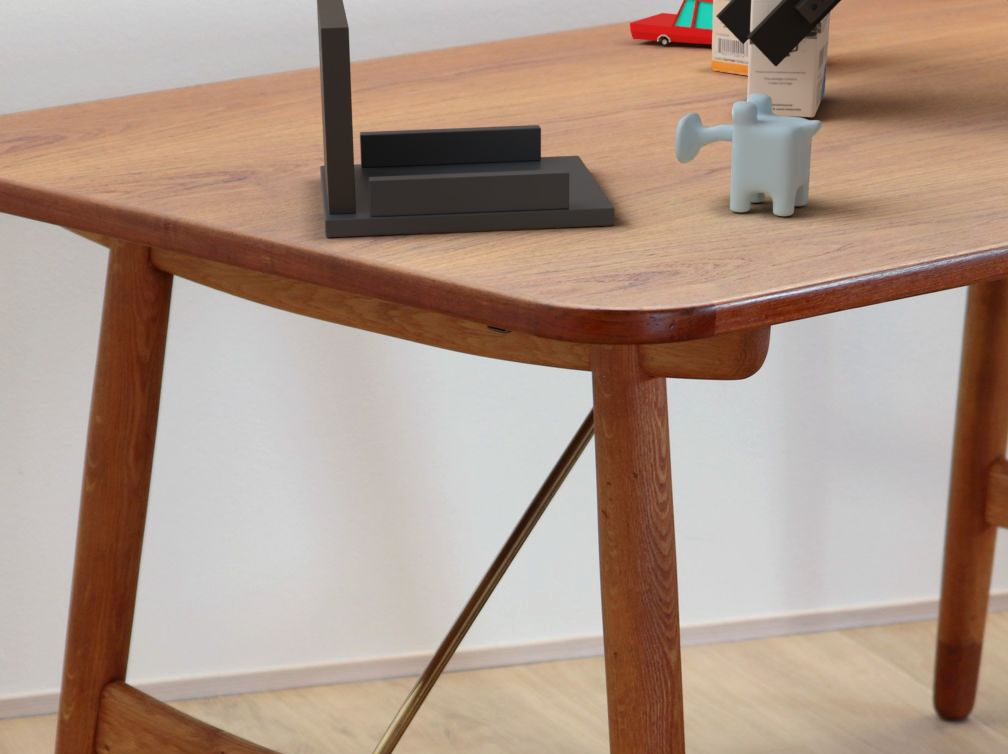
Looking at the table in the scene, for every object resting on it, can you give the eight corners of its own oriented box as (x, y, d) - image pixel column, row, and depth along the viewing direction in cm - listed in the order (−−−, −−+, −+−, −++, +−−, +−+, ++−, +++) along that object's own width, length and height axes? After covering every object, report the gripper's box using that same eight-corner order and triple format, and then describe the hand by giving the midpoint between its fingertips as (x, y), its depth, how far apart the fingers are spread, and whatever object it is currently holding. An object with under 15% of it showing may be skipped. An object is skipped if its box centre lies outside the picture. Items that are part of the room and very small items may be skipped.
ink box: (758, 95, 140) (765, -76, 135) (828, 96, 139) (837, -76, 134) (743, 117, 133) (749, -63, 128) (816, 118, 131) (826, -64, 126)
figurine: (693, 193, 113) (697, 87, 111) (826, 204, 110) (833, 95, 107) (668, 208, 110) (672, 99, 107) (805, 220, 106) (811, 108, 104)
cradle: (614, 225, 107) (618, 20, 102) (325, 237, 106) (316, 31, 101) (578, 171, 119) (580, -14, 115) (320, 181, 119) (312, -4, 114)
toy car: (663, 33, 168) (664, -15, 167) (791, 41, 162) (794, -9, 160) (628, 44, 163) (629, -6, 162) (760, 53, 157) (762, 2, 156)
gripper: (1091, -165, 119) (821, 106, 125) (974, -181, 139) (746, 53, 145) (1015, -257, 116) (743, 24, 122) (907, -259, 136) (678, -18, 142)
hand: (745, 40), depth 133 cm, fingers closed on ink box, 9 cm apart
